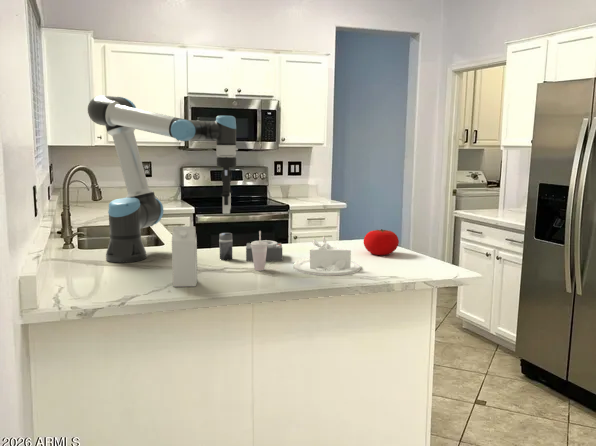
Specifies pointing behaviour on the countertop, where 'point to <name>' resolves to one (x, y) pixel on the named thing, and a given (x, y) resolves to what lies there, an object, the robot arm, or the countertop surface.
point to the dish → (327, 261)
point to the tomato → (381, 242)
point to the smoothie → (259, 254)
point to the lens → (225, 246)
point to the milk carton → (184, 256)
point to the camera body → (272, 251)
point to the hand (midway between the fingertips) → (226, 211)
